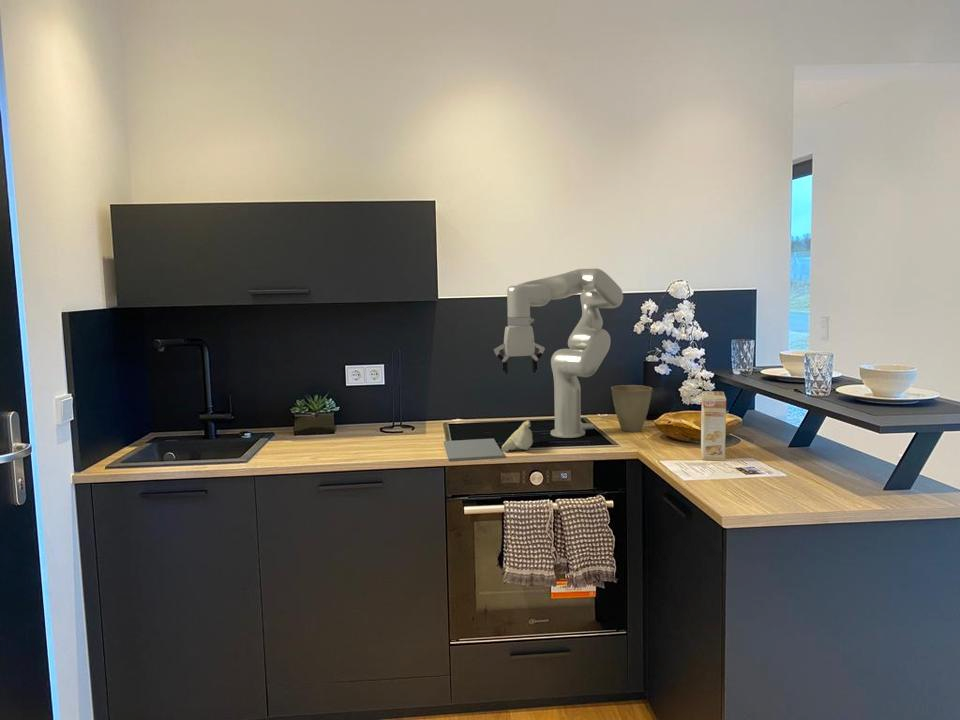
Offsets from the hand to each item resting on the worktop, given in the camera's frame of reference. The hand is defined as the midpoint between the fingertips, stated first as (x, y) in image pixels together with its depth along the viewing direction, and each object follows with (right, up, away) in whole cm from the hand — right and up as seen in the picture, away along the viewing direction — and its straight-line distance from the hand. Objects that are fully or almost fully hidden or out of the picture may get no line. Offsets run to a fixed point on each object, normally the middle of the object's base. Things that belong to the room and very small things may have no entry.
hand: (519, 372), depth 235 cm
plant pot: (+43, -22, +25) cm, 55 cm away
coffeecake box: (+61, -26, -13) cm, 68 cm away
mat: (-16, -26, +1) cm, 31 cm away
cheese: (0, -26, +3) cm, 26 cm away
